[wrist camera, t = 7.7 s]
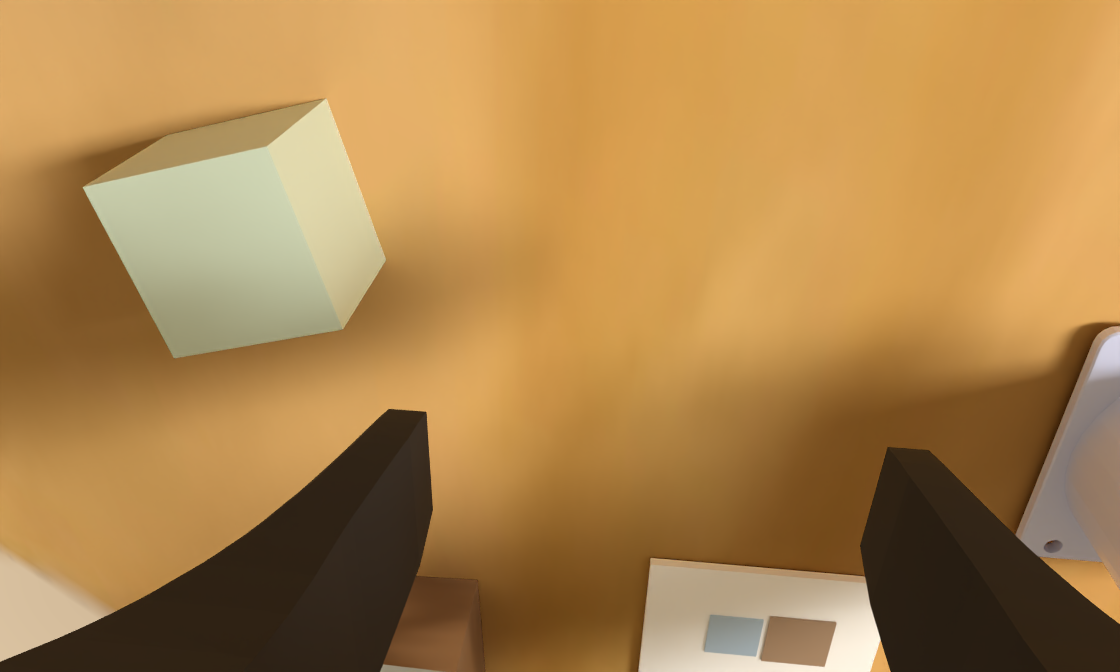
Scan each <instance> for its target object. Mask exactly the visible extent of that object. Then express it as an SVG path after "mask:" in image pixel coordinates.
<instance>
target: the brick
mask: <svg viewBox="0 0 1120 672" xmlns="http://www.w3.org/2000/svg"><path fill="white" fill-rule="evenodd" d="M83 189H84V191H85V193H86V195H87V197H88V198H89V200H90V202H91V204H92V206H93V208H94V210H95V212H96V213H97V215H98V217H99V219H100V221H101V223H102V225H103V226H104V228H105V230H106V232H107V234H108V236H109V238H110V240H111V241H112V243H113V245H114V247H115V249H116V251H117V253H118V255H119V256H120V258H121V260H122V262H123V264H124V266H125V268H126V270H127V271H128V273H129V275H130V277H131V279H132V281H133V283H134V284H135V286H136V288H137V290H138V292H139V294H140V296H141V298H142V299H143V301H144V303H145V305H146V307H147V309H148V311H149V313H150V314H151V316H152V318H153V320H154V322H155V324H156V326H157V327H158V329H159V331H160V333H161V335H162V337H163V339H164V341H165V342H166V344H167V346H168V348H169V350H170V352H171V354H172V356H173V357H174V358H180V357H186V356H191V355H197V354H203V353H209V352H215V351H221V350H226V349H232V348H238V347H244V346H250V345H256V344H262V343H267V342H273V341H279V340H285V339H291V338H297V337H302V336H308V335H314V334H320V333H326V332H332V331H337V330H343V329H344V327H345V325H346V324H347V322H348V321H349V319H350V317H351V316H352V314H353V313H354V311H355V309H356V308H357V306H358V305H359V303H360V301H361V300H362V298H363V296H364V295H365V293H366V292H367V290H368V288H369V287H370V285H371V284H372V282H373V280H374V279H375V277H376V276H377V274H378V272H379V271H380V269H381V268H382V266H383V264H384V263H385V261H386V258H385V256H384V253H383V250H382V248H381V245H380V242H379V240H378V237H377V234H376V231H375V229H374V226H373V223H372V221H371V218H370V215H369V212H368V210H367V207H366V204H365V202H364V199H363V196H362V193H361V191H360V188H359V185H358V183H357V180H356V177H355V175H354V172H353V169H352V166H351V164H350V161H349V158H348V156H347V153H346V150H345V147H344V145H343V142H342V139H341V137H340V134H339V131H338V128H337V126H336V123H335V120H334V118H333V115H332V112H331V110H330V107H329V104H328V101H327V99H321V100H317V101H313V102H308V103H304V104H300V105H295V106H291V107H287V108H282V109H278V110H273V111H269V112H265V113H260V114H256V115H252V116H247V117H243V118H239V119H234V120H230V121H226V122H221V123H217V124H213V125H208V126H204V127H200V128H195V129H191V130H186V131H182V132H178V133H173V134H169V135H166V136H165V137H163V138H161V139H160V140H158V141H156V142H155V143H153V144H152V145H150V146H148V147H147V148H145V149H143V150H142V151H140V152H139V153H137V154H135V155H134V156H132V157H131V158H129V159H127V160H126V161H124V162H122V163H121V164H119V165H118V166H116V167H114V168H113V169H111V170H109V171H108V172H106V173H105V174H103V175H101V176H100V177H98V178H97V179H95V180H93V181H92V182H90V183H88V184H87V185H85V186H84V187H83Z"/></svg>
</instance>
